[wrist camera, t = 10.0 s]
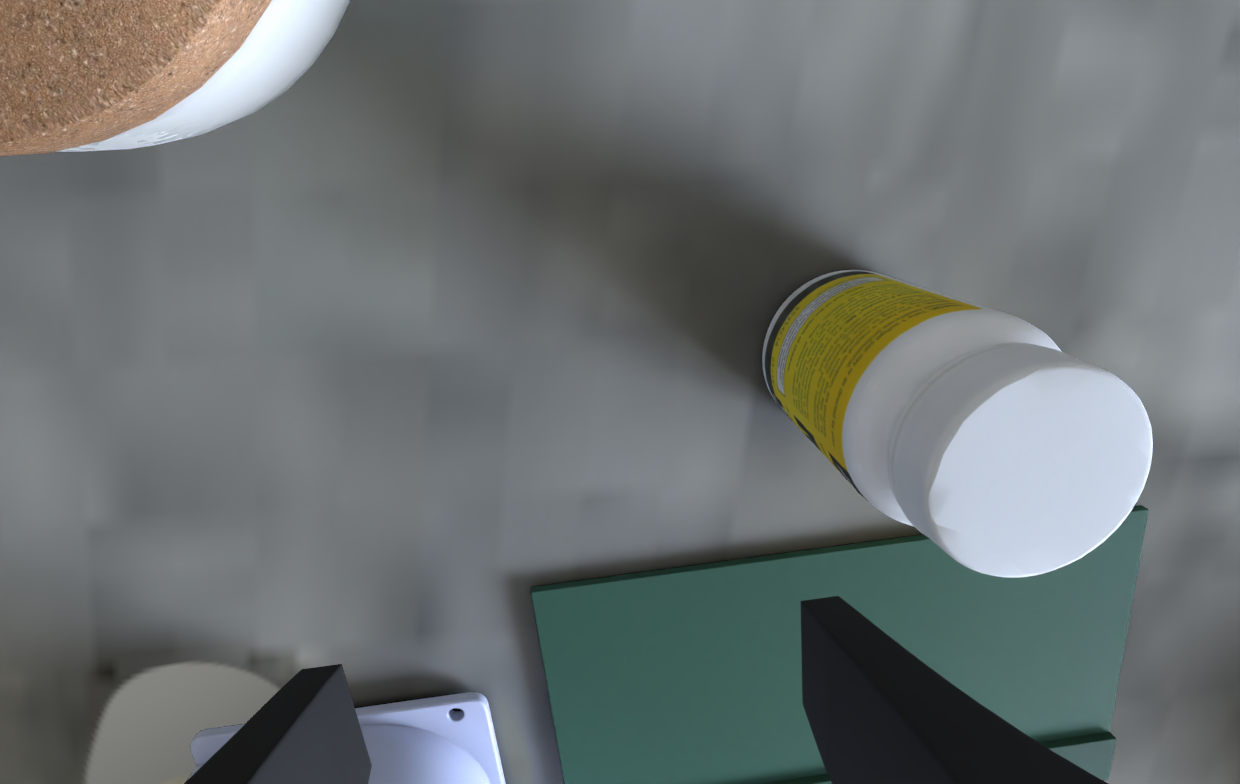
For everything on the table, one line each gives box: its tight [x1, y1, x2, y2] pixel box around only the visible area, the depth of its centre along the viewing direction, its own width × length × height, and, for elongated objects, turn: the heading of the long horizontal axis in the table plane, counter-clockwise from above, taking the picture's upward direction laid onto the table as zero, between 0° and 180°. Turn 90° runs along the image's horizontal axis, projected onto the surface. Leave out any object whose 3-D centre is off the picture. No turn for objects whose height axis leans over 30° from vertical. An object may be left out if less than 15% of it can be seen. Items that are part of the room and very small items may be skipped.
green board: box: [531, 505, 1148, 784], centre depth 22 cm, size 20×12×1 cm, turn 96°
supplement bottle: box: [762, 270, 1153, 578], centre depth 15 cm, size 5×5×8 cm
